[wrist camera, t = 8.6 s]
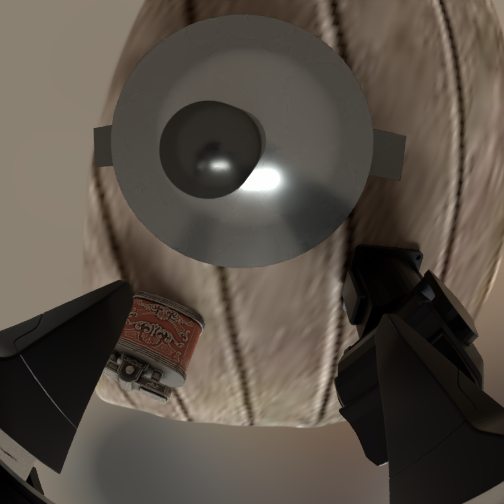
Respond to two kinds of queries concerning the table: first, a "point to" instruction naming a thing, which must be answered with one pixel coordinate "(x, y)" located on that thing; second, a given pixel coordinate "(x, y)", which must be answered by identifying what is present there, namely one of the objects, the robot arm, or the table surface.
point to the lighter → (155, 346)
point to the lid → (242, 141)
